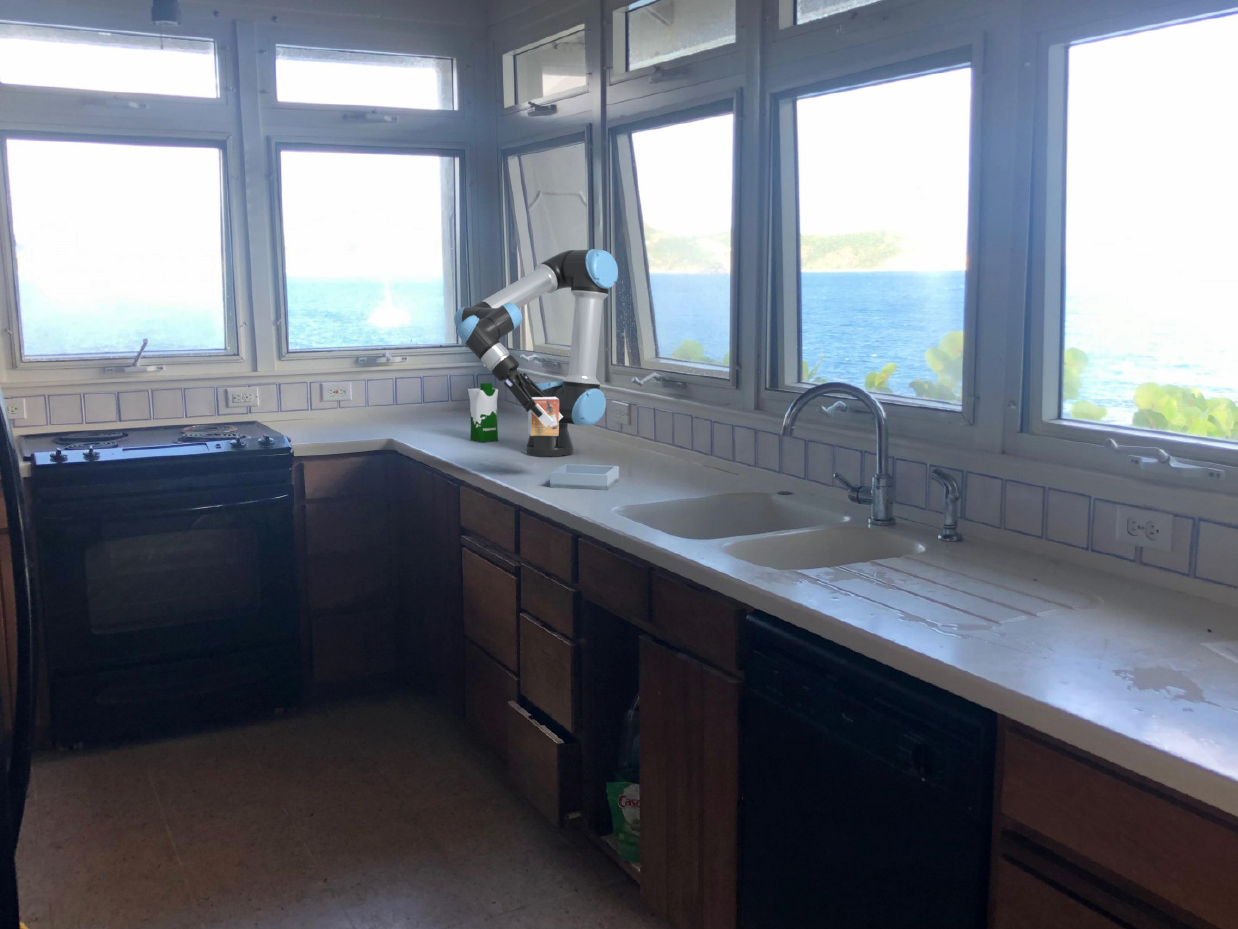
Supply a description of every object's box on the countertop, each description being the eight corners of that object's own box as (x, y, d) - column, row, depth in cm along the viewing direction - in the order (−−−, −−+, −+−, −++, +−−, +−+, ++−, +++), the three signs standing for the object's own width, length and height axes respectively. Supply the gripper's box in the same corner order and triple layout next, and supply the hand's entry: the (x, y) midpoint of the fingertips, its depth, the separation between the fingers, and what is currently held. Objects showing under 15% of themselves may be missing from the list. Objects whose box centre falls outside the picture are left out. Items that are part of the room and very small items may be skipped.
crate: (564, 477, 307) (563, 464, 306) (618, 480, 303) (618, 466, 302) (550, 487, 293) (549, 472, 292) (607, 489, 290) (607, 475, 289)
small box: (530, 436, 301) (530, 398, 299) (527, 433, 306) (527, 396, 304) (559, 435, 303) (559, 398, 301) (555, 433, 308) (555, 396, 306)
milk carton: (480, 443, 369) (479, 384, 366) (466, 440, 376) (464, 382, 372) (501, 440, 375) (500, 383, 371) (487, 437, 381) (486, 381, 378)
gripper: (504, 368, 315) (557, 425, 314) (478, 375, 295) (533, 436, 294) (522, 351, 313) (574, 408, 312) (496, 356, 293) (552, 418, 292)
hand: (554, 422), depth 303 cm, fingers closed on small box, 8 cm apart
